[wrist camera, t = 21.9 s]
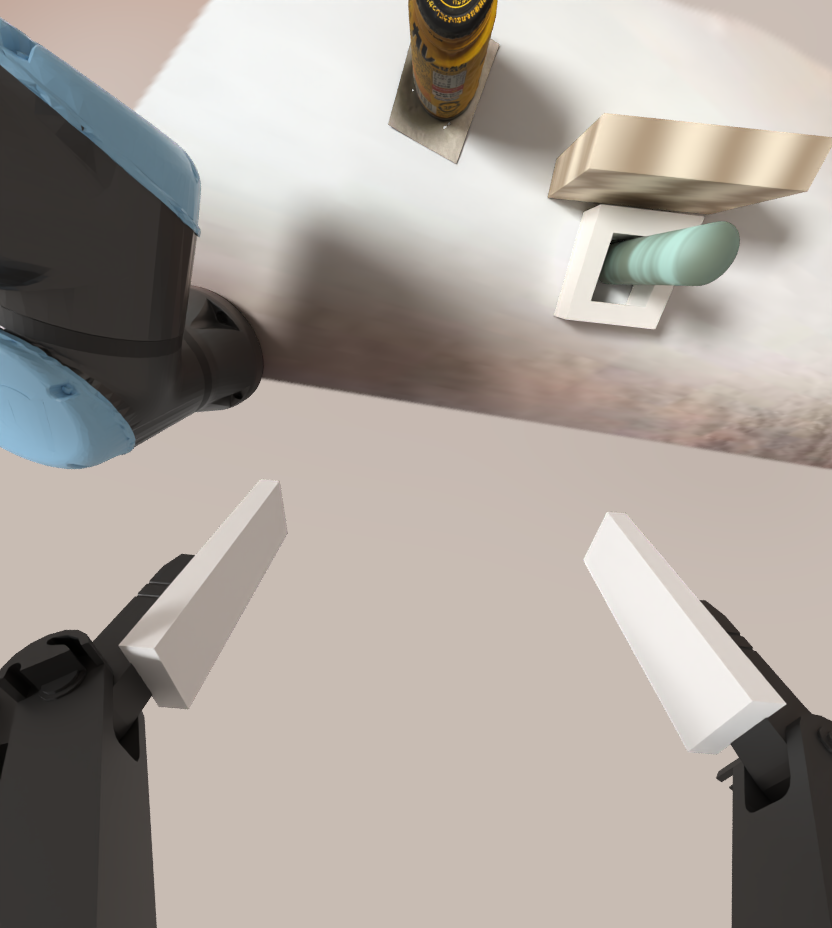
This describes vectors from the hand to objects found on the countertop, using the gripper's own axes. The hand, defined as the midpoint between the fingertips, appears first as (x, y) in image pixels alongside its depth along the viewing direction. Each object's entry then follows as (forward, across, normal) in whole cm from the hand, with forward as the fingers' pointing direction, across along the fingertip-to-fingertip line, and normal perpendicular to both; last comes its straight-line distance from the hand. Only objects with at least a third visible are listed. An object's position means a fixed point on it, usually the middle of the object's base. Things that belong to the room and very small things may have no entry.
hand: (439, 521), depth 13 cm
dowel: (+33, +19, +12) cm, 40 cm away
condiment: (+33, -2, +24) cm, 41 cm away
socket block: (+33, +19, +11) cm, 39 cm away
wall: (+33, +18, +18) cm, 42 cm away
